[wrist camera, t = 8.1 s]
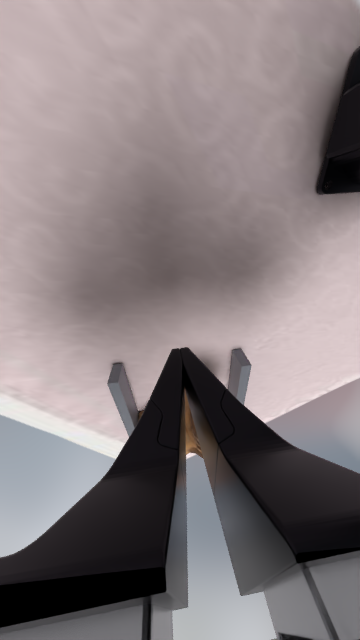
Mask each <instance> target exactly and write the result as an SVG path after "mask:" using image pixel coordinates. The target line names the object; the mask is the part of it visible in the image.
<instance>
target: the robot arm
mask: <svg viewBox="0 0 360 640" xmlns="http://www.w3.org/2000/svg"><path fill="white" fill-rule="evenodd" d="M326 183H328V186H327V188H326V189H325V185H326ZM317 192H318V193H319V194H321V195H325V194H338V193H352V192H360V46H359V47H358V48H357V49H356V51H355V52H354V54H353V56H352V59H351V62H350V66H349V70H348V74H347V77H346V81H345V85H344V89H343V92H342V96H341V100H340V104H339V107H338V111H337V115H336V119H335V122H334V126H333V130H332V134H331V137H330V141H329V145H328V149H327V152H326V156H325V160H324V164H323V167H322V171H321V175H320V179H319V182H318V186H317ZM185 391H186V396H187V399H188V403H189V407H190V410H191V414H192V418H193V421H194V425H195V429H196V432H197V436H198V440H199V444H200V447H201V451H202V455H203V458H204V462H205V466H206V469H207V473H208V477H209V481H210V484H211V488H212V491H213V495H214V499H215V503H216V506H217V510H218V514H219V517H220V521H221V525H222V529H223V532H224V536H225V540H226V543H227V547H228V551H229V555H230V558H231V562H232V566H233V569H234V573H235V577H236V580H237V584H238V588H239V591H240V595H241V596H243V595H249V594H253V593H258V592H263V591H264V594H265V597H266V601H267V605H268V608H269V611H270V615H271V619H272V622H273V626H274V629H275V633H276V636H277V639H272V640H360V474H359V473H357V472H354V471H352V470H349V469H347V468H345V467H342V466H340V465H337V464H335V463H332V462H330V461H328V460H325V459H323V458H320V457H318V456H316V455H313V454H311V453H308V452H306V451H303V450H301V449H299V448H297V447H295V446H293V445H291V444H290V443H288V442H287V441H286V440H284V439H283V438H281V437H280V436H279V435H278V434H276V433H275V432H274V431H273V430H272V429H271V428H270V427H268V426H267V425H266V424H265V423H264V422H262V421H261V420H260V419H259V418H258V417H257V416H255V415H254V414H253V413H252V412H251V411H250V410H248V409H247V408H246V407H245V406H244V405H243V404H242V403H241V402H240V401H239V400H238V399H237V398H236V397H235V396H234V395H233V394H232V393H231V392H230V391H229V390H228V389H226V387H225V386H224V385H223V384H222V383H221V382H220V381H219V380H218V379H217V378H216V377H215V375H214V374H213V373H212V372H211V371H210V370H209V369H208V368H207V367H206V366H205V365H204V364H203V363H202V362H201V361H200V360H199V359H198V358H197V357H196V355H195V354H194V353H193V352H192V351H191V350H190V349H189V348H188V347H185V348H180V349H179V348H177V349H172V350H171V353H170V355H169V357H168V359H167V361H166V364H165V366H164V368H163V370H162V373H161V375H160V377H159V379H158V381H157V384H156V386H155V388H154V390H153V392H152V395H151V397H150V400H149V401H148V403H147V406H146V408H145V410H144V412H143V414H142V416H141V418H140V420H139V421H138V423H137V425H136V427H135V428H134V430H133V432H132V434H131V435H130V437H129V439H128V440H127V442H126V443H125V445H124V447H123V448H122V450H121V452H120V453H119V455H118V457H117V458H116V460H115V462H114V463H113V465H112V466H111V468H110V470H109V471H108V472H107V473H106V475H105V476H104V477H103V478H102V479H101V481H99V482H98V483H97V484H96V485H95V486H94V487H93V488H92V489H91V490H90V491H89V492H88V493H87V494H86V495H85V496H84V497H82V498H81V499H80V500H79V501H78V502H77V503H76V504H75V505H74V506H73V507H72V508H71V509H70V510H69V511H68V512H66V513H65V515H63V516H62V517H61V518H60V519H59V520H58V521H57V522H56V523H55V524H54V525H52V526H51V527H50V528H49V529H48V530H47V531H46V532H45V533H44V534H43V535H42V536H40V537H39V538H38V539H37V540H36V541H34V542H33V543H31V544H30V545H28V546H27V547H25V548H24V549H22V550H20V551H18V552H17V553H14V554H12V555H9V556H6V557H1V558H0V640H173V624H172V611H173V610H178V609H182V608H187V607H188V579H187V578H188V572H187V503H186V429H185Z"/></svg>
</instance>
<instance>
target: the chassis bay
mask: <svg viewBox="0 0 360 640" xmlns="http://www.w3.org/2000/svg"><path fill="white" fill-rule="evenodd" d="M250 370H251V364H250V362H249V360H248V359H247V357H246V356H245V354H244V352H243V351H242V349H236V350H232V359H231V368H230V377H229V385H228V390H229V391H230V392H231V393H232V394H233V395H234V396H235V397H236V398H237V399H238V400H239V401H240V402H241V403H242V404H243V405H244V401H245V396H246V391H247V386H248V381H249V375H250ZM107 384H108V387H109V389H110V392H111V394H112V396H113V399H114V401H115V404H116V406H117V409H118V411H119V414H120V416H121V418H122V421H123V423H124V426H125V428H126V431H127V433H128V436H129V437H130V435H131V434H132V432H133V430H134V428H135V427H136V425H137V423H138V415H139V414H138V411H137V407H136V404H135V401H134V398H133V395H132V392H131V388H130V385H129V382H128V379H127V376H126V373H125V369H124V366H123V363H122V364H114V365H113V367H112V370H111V373H110V377H109V380H108V383H107Z"/></svg>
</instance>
